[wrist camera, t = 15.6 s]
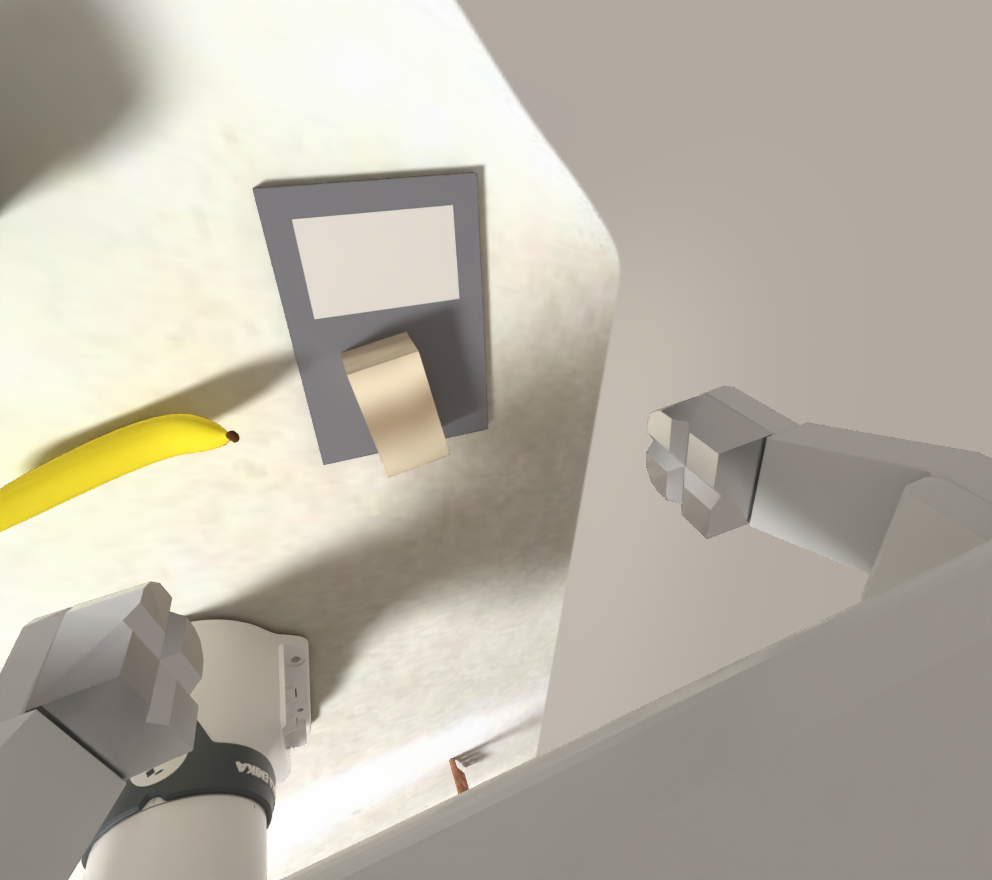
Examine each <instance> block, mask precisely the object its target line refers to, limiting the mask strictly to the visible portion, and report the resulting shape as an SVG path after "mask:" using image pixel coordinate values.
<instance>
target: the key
mask: <svg viewBox="0 0 992 880" xmlns="http://www.w3.org/2000/svg"><path fill="white" fill-rule="evenodd" d="M449 762H450V766H451V769H452V773H453V776H454V780H455V784H456V787H457V791H458V794H460V793H462V792H464V791H467V790H469V788H468V785H467V781H466V778H465V774H464V773H463V772H462V771H461V770H460V769H458V768H457V766H456V763H455V759H454V758H452V759H450V760H449Z"/></svg>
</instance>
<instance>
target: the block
mask: <svg viewBox="0 0 992 880" xmlns="http://www.w3.org/2000/svg"><path fill="white" fill-rule="evenodd" d="M340 354H341V357H342V360H343V364H344V367H345V370H346V374H347V377H348V379H349V381H350V384H351V386H352V389H353V391H354V394H355V396H356V399H357V401H358V404H359V406H360V409H361V411H362V414H363V416H364V418H365V421H366V423H367V426H368V428H369V431H370V433H371V436H372V438H373V441H374V443H375V446H376V448H377V450H378V453H379V455H380V458H381V460H382V463H383V465H384V468H385V470H386V473H387V475H388V478H389V477H392V476H395V475H397V474H400V473H402V472H405V471H408V470H410V469H413V468H416V467H418V466H421V465H424V464H426V463H429V462H432V461H434V460H437V459H440V458H442V457H445V456H447V455H450V453H449V449H448V446H447V443H446V440H445V436H444V433H443V430H442V426H441V423H440V420H439V417H438V413H437V410H436V407H435V403H434V400H433V397H432V394H431V390H430V387H429V384H428V380H427V377H426V374H425V371H424V367H423V364H422V361H421V357H420V354H419V351H418V350H417V348H416V346H415V345H414V343H413V342H412V340H411V338H410V337H409V335H408V334H407V332H404V333H401V334H398V335H395V336H392V337H389V338H386V339H382V340H379V341H376V342H373V343H370V344H367V345H364V346H361V347H358V348H355V349H352V350H349V351H346V352H343V353H340Z"/></svg>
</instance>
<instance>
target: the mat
mask: <svg viewBox="0 0 992 880" xmlns="http://www.w3.org/2000/svg"><path fill="white" fill-rule="evenodd" d="M253 193H254V197H255V201H256V205H257V209H258V212H259V216H260V220H261V224H262V228H263V232H264V236H265V240H266V243H267V247H268V251H269V255H270V259H271V263H272V267H273V271H274V274H275V278H276V282H277V286H278V290H279V294H280V298H281V302H282V306H283V309H284V313H285V317H286V321H287V325H288V329H289V333H290V337H291V340H292V344H293V348H294V352H295V356H296V360H297V364H298V368H299V371H300V375H301V379H302V383H303V387H304V391H305V395H306V399H307V402H308V406H309V410H310V414H311V418H312V422H313V426H314V430H315V433H316V437H317V441H318V445H319V449H320V453H321V457H322V461H323V465H326V464H331V463H335V462H340V461H344V460H349V459H354V458H358V457H363V456H367V455H372V454H376V453H378V450H377V448H376V446H375V443H374V441H373V438H372V436H371V433H370V431H369V428H368V426H367V423H366V421H365V418H364V416H363V414H362V411H361V409H360V406H359V404H358V401H357V399H356V396H355V394H354V391H353V389H352V386H351V384H350V381H349V379H348V377H347V374H346V370H345V367H344V364H343V360H342V357H341V354H340V353H343V352H346V351H349V350H352V349H355V348H358V347H361V346H364V345H367V344H370V343H373V342H376V341H379V340H382V339H386V338H389V337H392V336H395V335H398V334H401V333H404V332H407V334H408V335H409V337H410V338H411V340H412V342H413V343H414V345H415V346H416V348H417V350H418V351H419V354H420V357H421V361H422V364H423V367H424V371H425V374H426V377H427V380H428V384H429V387H430V390H431V394H432V397H433V400H434V403H435V407H436V410H437V413H438V417H439V420H440V423H441V426H442V430H443V433H444V436H445V438H450V437H454V436H459V435H463V434H468V433H472V432H477V431H482V430H486V429H488V411H487V389H486V367H485V345H484V323H483V301H482V279H481V257H480V235H479V213H478V191H477V173H474V172H470V173H456V174H442V175H428V176H414V177H400V178H387V179H373V180H359V181H345V182H331V183H317V184H304V185H290V186H276V187H262V188H253Z"/></svg>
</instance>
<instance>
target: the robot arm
mask: <svg viewBox="0 0 992 880" xmlns="http://www.w3.org/2000/svg"><path fill="white" fill-rule="evenodd" d="M647 433H648V434H649V435H650V436H651V437H652V438H653V439H654V441H653V443H652V444H651V446H650V447H649V449H648V451H647V452H646V466H647V467H646V468H647V471H648V473H649V476H650V479H651V482H652V484H653V485H654V486H655V488H656V490H657V491H658V492H659V493H660V494H661V495H662V496H663V497H664V498H665V499H666V500H668V501H672V502H675V503H678V504H681V506H682V516H683V517H684V518H685V519H686V520H688V521H689V522H690V523H691V524H692V525H693V526H694V527H695V528H696V529H697V530H698V531H699V532H700V533H701V534H702V535H703V536H704V537H705V538H706V539H709V538H712V537H714V536H717V535H720V534H722V533H725V532H727V531H730V530H733V529H735V528H738V527H741V526H743V525H746V524H749V523H750V525H749V526H752V527H754V528H756V529H759V530H761V531H764V532H766V533H769V534H771V535H774V536H776V537H778V538H781V539H783V540H786V541H788V542H791V543H793V544H796V545H798V546H800V547H803V548H805V549H808V550H810V551H813V552H815V553H818V554H820V555H823V556H825V557H828V558H830V559H832V560H835V561H837V562H840V563H842V564H845V565H847V566H849V567H852V568H854V569H857V570H859V571H862V572H864V573H867V574H869V577H868V579H867V582H866V584H865V587H864V589H863V592H862V594H861V602H859V603H857V604H855V605H853V606H851V607H849V608H847V609H845V610H843V611H841V612H839V613H836V614H834V615H832V616H830V617H828V618H826V619H824V620H822V621H820V622H818V623H816V624H813V625H811V626H809V627H807V628H805V629H803V630H801V631H799V632H797V633H795V634H793V635H790V636H788V637H786V638H784V639H782V640H780V641H778V642H776V643H774V644H772V645H769V646H768V647H765V648H763V649H761V650H759V651H757V652H755V653H753V654H751V655H749V656H746V657H745V658H742V659H740V660H738V661H736V662H734V663H732V664H730V665H728V666H726V667H724V668H721V669H719V670H717V671H715V672H713V673H711V674H709V675H707V676H705V677H703V678H701V679H699V680H696V681H694V682H692V683H690V684H688V685H686V686H684V687H682V688H680V689H677V690H675V691H673V692H671V693H669V694H667V695H665V696H663V697H661V698H659V699H657V700H654V701H652V702H650V703H648V704H646V705H644V706H642V707H640V708H638V709H636V710H633V711H631V712H629V713H627V714H625V715H623V716H621V717H619V718H617V719H615V720H613V721H611V722H608V723H606V724H604V725H602V726H600V727H598V728H596V729H594V730H592V731H590V732H587V733H586V734H584V735H581V736H579V737H577V738H575V739H573V740H571V741H569V742H567V743H565V744H562V745H560V746H558V747H556V748H554V749H552V750H550V751H548V752H546V753H544V754H542V755H540V756H537V757H535V758H533V759H531V760H529V761H527V762H525V763H523V764H521V765H519V766H517V767H514V768H512V769H510V770H508V771H506V772H504V773H502V774H500V775H498V776H496V777H494V778H492V779H489V780H487V781H485V782H483V783H481V784H479V785H477V786H475V787H473V788H471V789H469V790H467V791H464V792H462V793H460V794H458V795H456V796H454V797H452V798H450V799H448V800H446V801H444V802H441V803H439V804H437V805H435V806H433V807H431V808H429V809H427V810H425V811H423V812H421V813H419V814H416V815H414V816H412V817H410V818H408V819H406V820H404V821H402V822H400V823H398V824H396V825H394V826H391V827H389V828H387V829H385V830H383V831H381V832H379V833H377V834H375V835H373V836H371V837H368V838H366V839H364V840H362V841H360V842H358V843H356V844H354V845H352V846H350V847H348V848H345V849H343V850H341V851H339V852H337V853H335V854H333V855H331V856H329V857H327V858H325V859H323V860H320V861H318V862H316V863H314V864H312V865H310V866H308V867H306V868H304V869H302V870H300V871H297V872H295V873H293V874H291V875H289V876H287V877H285V878H283V879H281V880H992V458H990V457H988V456H986V455H983V454H981V453H979V452H973V451H968V450H962V449H957V448H951V447H945V446H939V445H934V444H928V443H922V442H917V441H911V440H905V439H899V438H893V437H888V436H882V435H876V434H871V433H864V432H859V431H853V430H848V429H842V428H836V427H830V426H825V425H819V424H813V423H805V424H802V425H799V424H797V423H796V422H794V421H792V420H790V419H789V418H787V417H785V416H783V415H782V414H780V413H778V412H776V411H775V410H773V409H771V408H769V407H768V406H766V405H764V404H762V403H761V402H759V401H757V400H756V399H754V398H752V397H750V396H749V395H747V394H745V393H743V392H742V391H740V390H738V389H736V388H735V387H731V386H722V387H719V388H716V389H714V390H711V391H708V392H705V393H703V394H700V395H699V396H697V397H694V398H691V399H688V400H685V401H682V402H679V403H677V404H674V405H671V406H668V407H665V408H662V409H659V410H656V411H653V412H651V414H650V416H649V419H648V425H647ZM171 601H172V597H171V596H170V594H169V593H168V592H167V591H166V590H165V589H164V587H163V586H162V585H161V584H160V583H157V582H147V583H144V584H141V585H138V586H135V587H131V588H128V589H125V590H122V591H119V592H116V593H112V594H109V595H106V596H103V597H100V598H97V599H94V600H90V601H87V602H84V603H81V604H78V605H75V606H74V607H71V608H66V609H63V610H60V611H57V612H54V613H51V614H48V615H45V616H42V617H39V618H36V619H34V620H32V621H31V622H30V623H28V624H27V625H26V626H24V627H23V628H22V630H21V632H20V635H19V637H18V639H17V641H16V643H15V645H14V647H13V649H12V651H11V653H10V655H9V657H8V659H7V661H6V663H5V665H4V667H3V669H2V671H1V673H0V880H68V879H69V878H70V876H71V874H72V873H73V871H74V869H75V868H76V866H77V864H78V863H79V861H80V859H81V858H82V865H83V867H84V869H85V873H84V877H83V880H267V829H268V827H269V825H270V822H271V818H272V812H273V810H274V806H275V797H276V794H275V789H276V788H277V787H278V786H279V785H281V784H282V783H283V782H284V781H285V779H286V778H287V777H288V775H289V774H290V749H291V747H293V748H295V747H300V746H303V745H305V744H307V735H308V734H309V733H310V730H311V703H310V672H309V643H308V640H307V639H305V638H304V637H300V636H294V635H283V634H275V633H272V632H269V631H267V630H265V629H263V628H260V627H258V626H255V625H252V624H249V623H245V622H240V621H233V620H200V621H193V622H190V620H189V619H188V618H187V617H186V616H182V615H179V614H176V613H173V612H170V606H171Z"/></svg>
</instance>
